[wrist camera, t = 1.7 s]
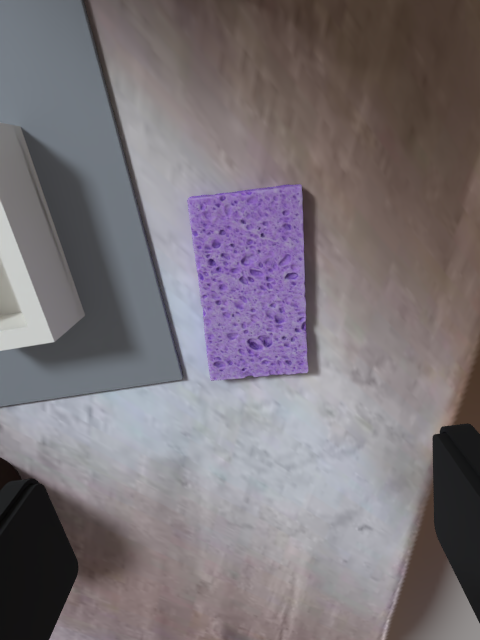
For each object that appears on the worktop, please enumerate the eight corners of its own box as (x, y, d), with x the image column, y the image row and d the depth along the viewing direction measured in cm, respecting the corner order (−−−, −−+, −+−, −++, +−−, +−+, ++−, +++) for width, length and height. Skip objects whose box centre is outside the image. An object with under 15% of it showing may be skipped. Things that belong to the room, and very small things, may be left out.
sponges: (211, 369, 30) (209, 381, 28) (189, 193, 25) (184, 194, 23) (306, 362, 29) (309, 375, 27) (299, 182, 25) (303, 183, 23)
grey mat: (-218, 58, 23) (-225, 56, 22) (78, -18, 21) (75, -21, 21) (-40, 410, 31) (-44, 413, 31) (183, 376, 29) (182, 379, 29)
